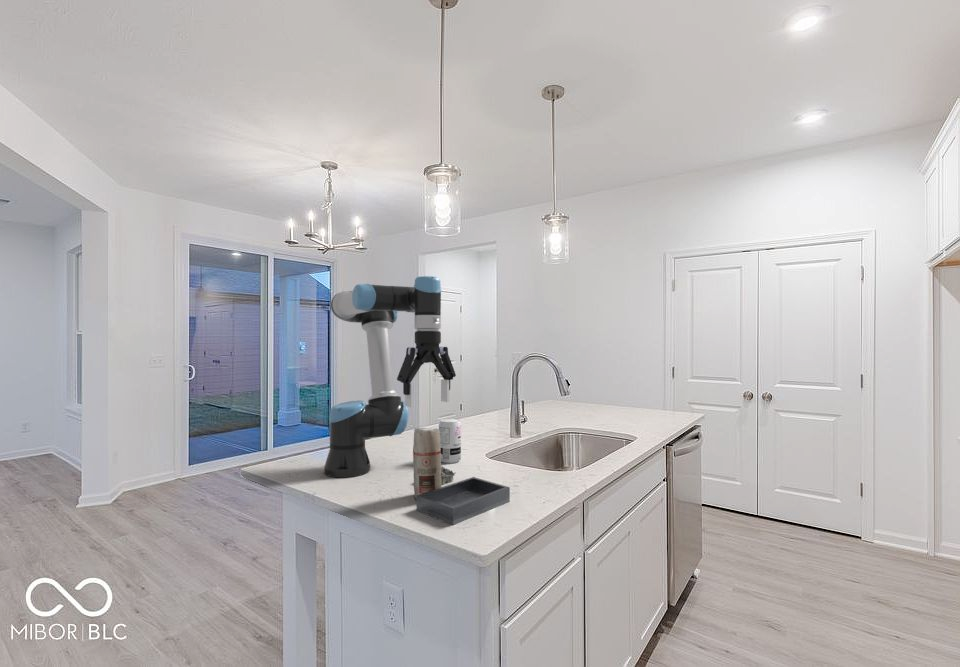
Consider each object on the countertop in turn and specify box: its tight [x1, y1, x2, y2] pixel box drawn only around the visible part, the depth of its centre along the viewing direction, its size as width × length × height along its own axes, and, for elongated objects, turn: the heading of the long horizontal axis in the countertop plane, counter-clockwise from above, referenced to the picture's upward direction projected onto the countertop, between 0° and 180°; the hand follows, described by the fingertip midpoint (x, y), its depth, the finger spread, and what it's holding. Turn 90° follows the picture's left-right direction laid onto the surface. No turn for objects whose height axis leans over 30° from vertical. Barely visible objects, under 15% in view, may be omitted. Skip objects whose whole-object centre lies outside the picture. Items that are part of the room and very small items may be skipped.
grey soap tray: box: [415, 476, 511, 526], centre depth 127 cm, size 22×14×4 cm, turn 137°
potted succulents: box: [441, 465, 456, 486], centre depth 148 cm, size 11×8×4 cm
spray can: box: [412, 427, 443, 499], centre depth 135 cm, size 8×8×20 cm
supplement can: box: [438, 418, 462, 464], centre depth 173 cm, size 8×8×15 cm
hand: (427, 404), depth 134 cm, fingers open, 13 cm apart
